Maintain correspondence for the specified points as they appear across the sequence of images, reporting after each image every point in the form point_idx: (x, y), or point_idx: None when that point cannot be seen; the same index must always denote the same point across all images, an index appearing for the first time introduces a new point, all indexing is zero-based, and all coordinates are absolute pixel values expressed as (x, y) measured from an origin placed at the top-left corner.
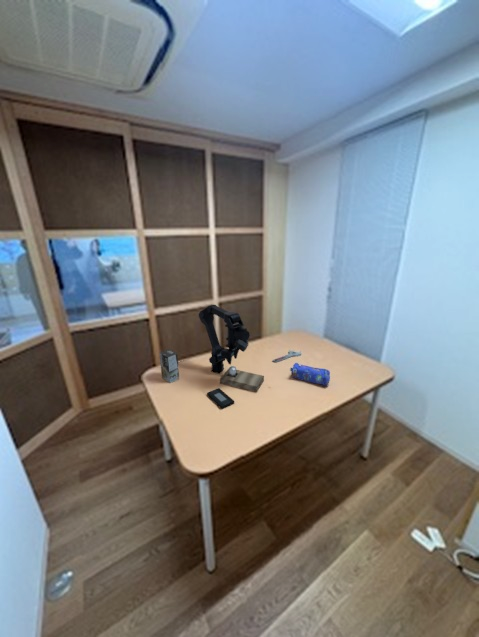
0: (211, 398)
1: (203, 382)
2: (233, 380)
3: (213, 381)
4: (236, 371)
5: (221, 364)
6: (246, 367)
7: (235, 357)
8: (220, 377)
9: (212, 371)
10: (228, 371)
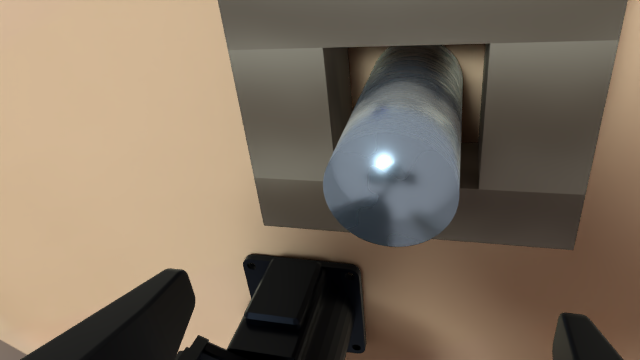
0: None
1: None
2: (605, 25)
3: (544, 272)
4: (288, 103)
5: (281, 335)
6: (50, 44)
7: (174, 307)
8: (564, 248)
9: (364, 336)
10: None
